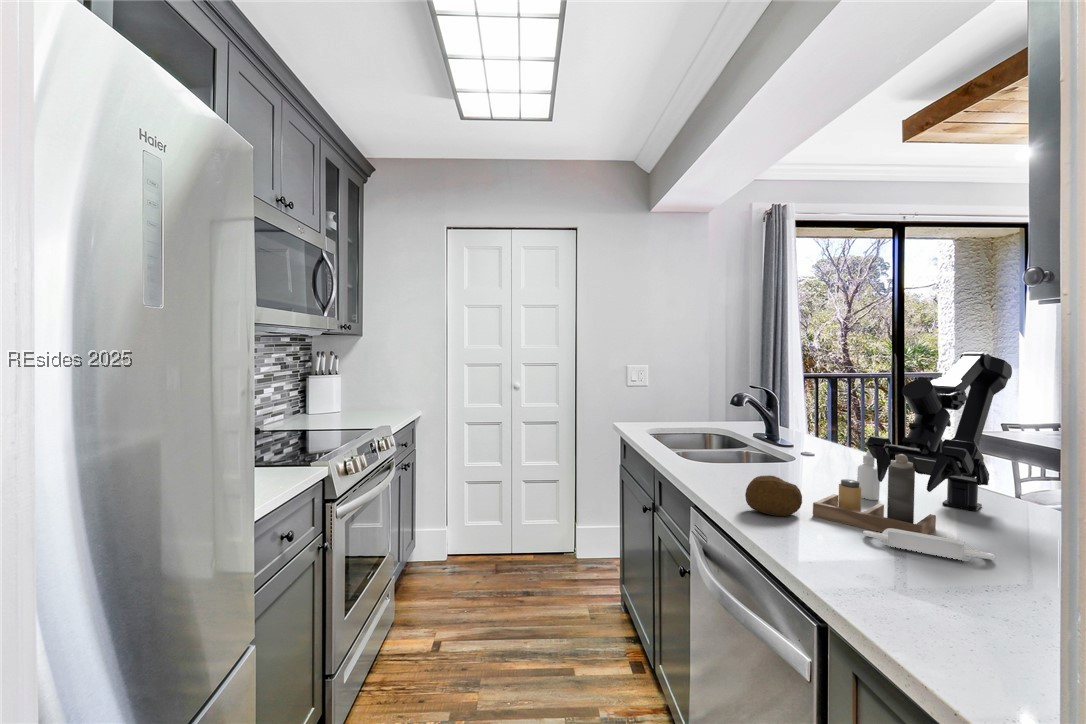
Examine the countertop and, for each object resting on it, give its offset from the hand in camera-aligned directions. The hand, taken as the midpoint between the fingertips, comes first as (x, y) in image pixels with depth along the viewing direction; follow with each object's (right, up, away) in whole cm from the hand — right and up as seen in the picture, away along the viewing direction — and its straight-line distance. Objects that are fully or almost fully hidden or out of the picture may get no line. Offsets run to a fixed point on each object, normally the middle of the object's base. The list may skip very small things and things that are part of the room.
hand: (903, 485), depth 110 cm
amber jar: (-7, -9, +7) cm, 13 cm away
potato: (-24, -9, +8) cm, 27 cm away
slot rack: (-4, -9, +4) cm, 10 cm away
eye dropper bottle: (+6, -9, +22) cm, 25 cm away
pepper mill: (-1, -9, 0) cm, 9 cm away
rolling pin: (-4, -10, -12) cm, 16 cm away
